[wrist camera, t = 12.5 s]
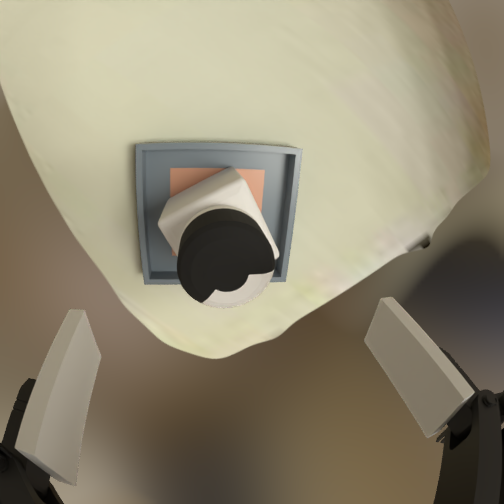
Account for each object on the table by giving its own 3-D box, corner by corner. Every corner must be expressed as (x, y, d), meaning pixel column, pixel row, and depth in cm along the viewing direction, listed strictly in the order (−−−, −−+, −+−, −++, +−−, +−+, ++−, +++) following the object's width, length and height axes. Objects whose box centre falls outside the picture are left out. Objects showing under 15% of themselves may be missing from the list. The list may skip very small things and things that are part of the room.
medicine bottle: (166, 199, 25) (142, 252, 14) (232, 164, 25) (258, 192, 14) (201, 257, 28) (205, 336, 18) (262, 227, 28) (302, 291, 17)
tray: (141, 142, 23) (135, 144, 21) (293, 147, 26) (302, 148, 24) (147, 272, 29) (144, 284, 27) (279, 270, 32) (285, 281, 30)
